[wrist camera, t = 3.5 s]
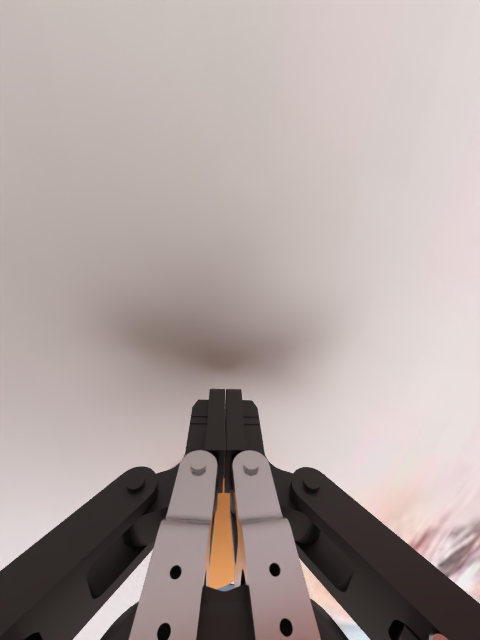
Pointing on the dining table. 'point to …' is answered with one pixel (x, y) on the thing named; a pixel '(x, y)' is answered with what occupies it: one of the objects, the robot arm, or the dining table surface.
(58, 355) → the dining table surface
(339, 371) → the dining table surface
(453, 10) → the dining table surface
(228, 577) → the ball
